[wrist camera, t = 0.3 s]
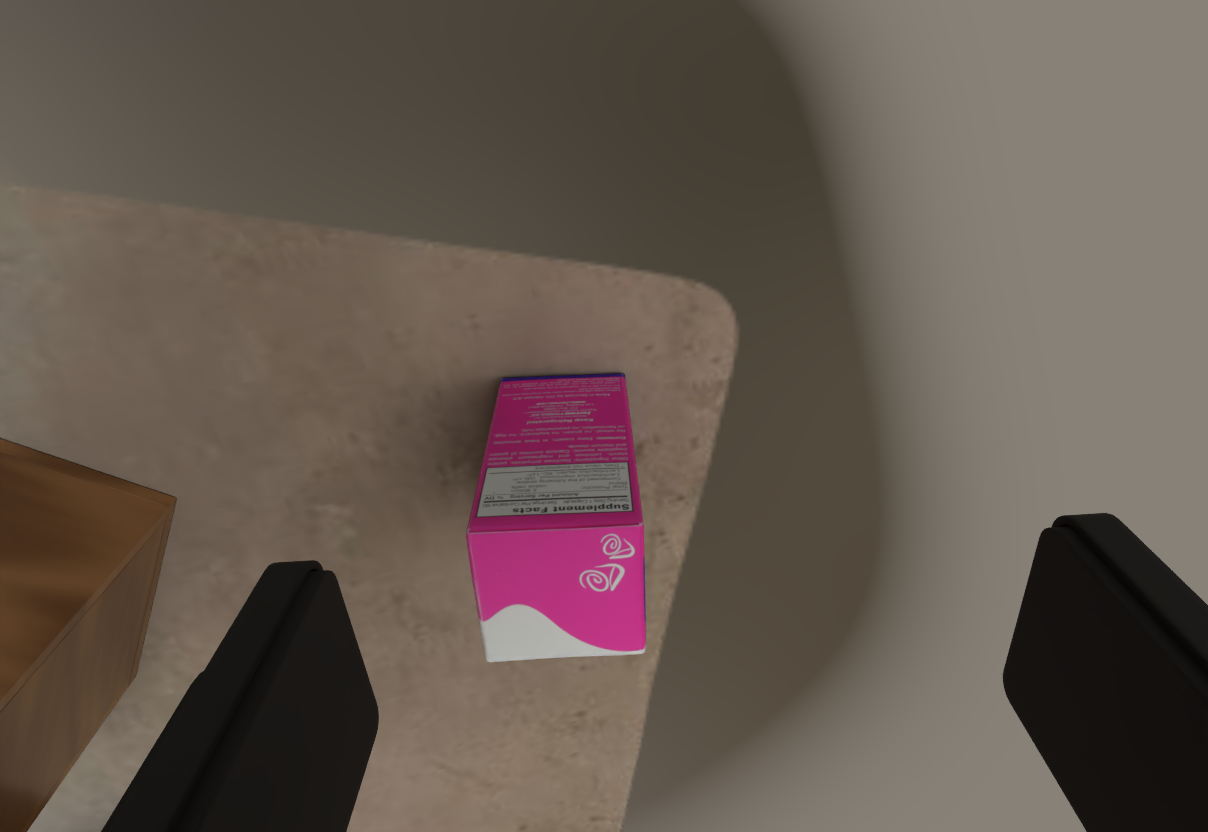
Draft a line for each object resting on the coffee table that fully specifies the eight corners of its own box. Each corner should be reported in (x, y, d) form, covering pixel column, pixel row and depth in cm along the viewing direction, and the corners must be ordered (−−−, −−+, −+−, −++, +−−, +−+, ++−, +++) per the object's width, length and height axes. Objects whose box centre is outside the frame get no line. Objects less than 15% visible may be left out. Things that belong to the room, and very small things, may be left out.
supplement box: (633, 477, 35) (646, 662, 25) (510, 481, 35) (475, 667, 25) (631, 368, 32) (645, 527, 22) (497, 373, 33) (453, 533, 22)
